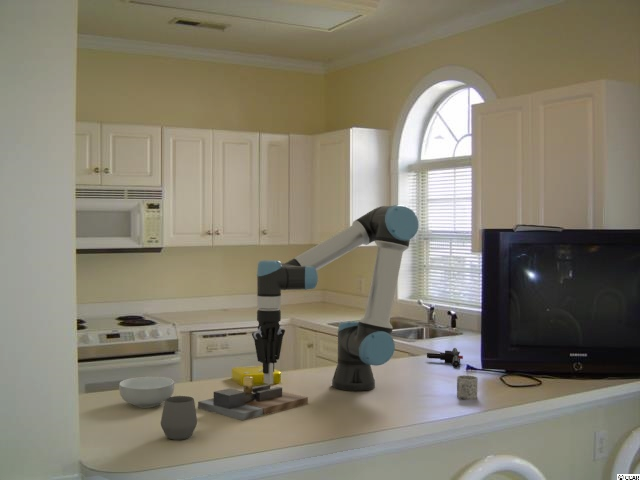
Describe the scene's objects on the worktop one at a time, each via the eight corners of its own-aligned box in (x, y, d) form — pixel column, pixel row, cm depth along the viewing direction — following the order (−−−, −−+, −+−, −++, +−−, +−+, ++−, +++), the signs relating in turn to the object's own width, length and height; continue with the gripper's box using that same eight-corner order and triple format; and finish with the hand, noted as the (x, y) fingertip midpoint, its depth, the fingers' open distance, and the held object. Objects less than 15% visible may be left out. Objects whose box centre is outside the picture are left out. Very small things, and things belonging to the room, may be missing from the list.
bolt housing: (266, 392, 230) (266, 380, 230) (282, 396, 226) (282, 383, 226) (213, 405, 213) (213, 391, 213) (229, 409, 209) (229, 395, 209)
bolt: (249, 397, 222) (249, 375, 222) (255, 399, 220) (256, 377, 220) (225, 403, 214) (225, 380, 214) (231, 405, 212) (232, 381, 212)
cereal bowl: (115, 400, 226) (115, 378, 225) (168, 396, 232) (168, 374, 232) (122, 413, 210) (123, 389, 210) (179, 408, 216) (179, 385, 216)
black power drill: (426, 356, 292) (463, 358, 290) (427, 344, 311) (462, 345, 309) (426, 368, 293) (463, 370, 290) (427, 355, 312) (462, 357, 309)
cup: (153, 439, 184) (153, 401, 184) (173, 430, 193) (173, 393, 193) (184, 444, 181) (185, 405, 181) (203, 434, 189) (204, 397, 189)
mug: (461, 394, 243) (462, 374, 243) (480, 396, 239) (480, 377, 239) (449, 399, 235) (449, 379, 235) (468, 402, 231) (468, 382, 231)
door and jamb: (263, 393, 239) (263, 387, 239) (307, 403, 226) (307, 397, 225) (197, 408, 217) (198, 401, 217) (242, 420, 204) (243, 413, 204)
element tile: (268, 376, 269) (268, 363, 268) (282, 384, 255) (282, 371, 255) (230, 379, 262) (230, 366, 262) (242, 387, 249) (242, 373, 249)
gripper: (274, 306, 233) (274, 378, 233) (245, 309, 223) (245, 384, 223) (291, 308, 228) (291, 381, 228) (262, 311, 218) (262, 388, 218)
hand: (268, 383), depth 226 cm, fingers closed
